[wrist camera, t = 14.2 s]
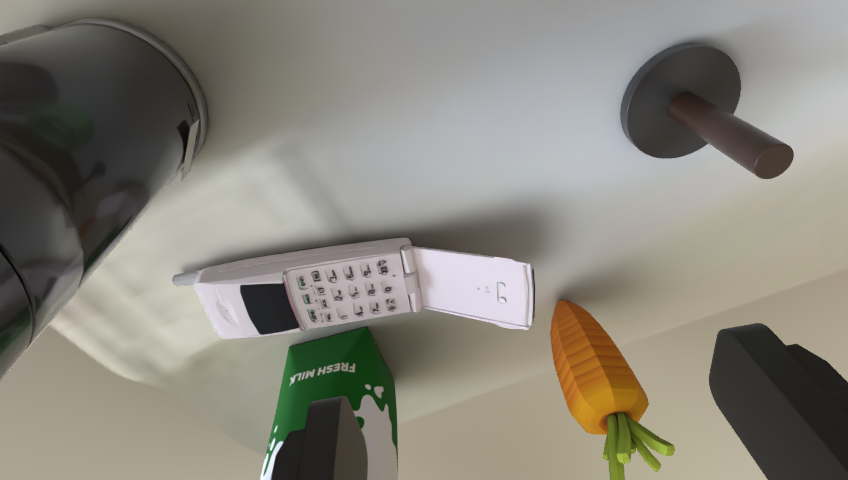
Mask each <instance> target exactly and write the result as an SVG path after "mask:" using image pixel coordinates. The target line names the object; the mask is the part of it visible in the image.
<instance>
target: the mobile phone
mask: <svg viewBox="0 0 848 480" xmlns="http://www.w3.org/2000/svg"><path fill="white" fill-rule="evenodd" d="M172 281H173V283H174V285H175V286H186V285H194V289H195V291H196V293H197V295H198V297H199V299H200V301H201V303H202V305H203V307H204V309H205V311H206V313H207V315H208V317H209V319H210V321H211V323H212V325H213V328H214V330H215V332H216V334H217V335H218V336H219V337H221V338H224V339H234V338H249V337H261V336H272V335H280V334H288V333H296V332H303V331H305V330H307V329H314V328H320V327H326V326H333V325H339V324H344V323H349V322H355V321H361V320H366V319H372V318H378V317H383V316H389V315H395V314H400V313H406V312H411V310H412V311H414V312H419V311H421V310H422V308H427V309H431V310H436V311H440V312H445V313H449V314H454V315H458V316H463V317H467V318H472V319H476V320H481V321H485V322H490V323H493V324H497V325H498V326H500V327H504V328H509V329H517V328H518V329H523V330H529V329H530V328H531V327H532V324H533V321H534V309H535V282H534V269H533V266H532V265H531V264H530V263H527V262H521V261H515V260H513V259H511V258H504V257H492V256H487V255H480V254H472V253H465V252H457V251H449V250H441V249H433V248H426V247H418V246H412V242H411V241H410V239H409V238H406V237H403V238H393V239H385V240H377V241H369V242H361V243H353V244H345V245H337V246H329V247H322V248H316V249H309V250H303V251H296V252H290V253H283V254H276V255H270V256H263V257H257V258H250V259H245V260H240V261H235V262H230V263H226V264H221V265H216V266H211V267H207V268H205V269H203V270H196V271H191V272H187V273H182V274H177V275H174V277H173V278H172Z"/></svg>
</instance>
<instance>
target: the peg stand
mask: <svg viewBox="0 0 848 480" xmlns="http://www.w3.org/2000/svg"><path fill="white" fill-rule="evenodd" d="M740 90H741V81H740V75H739V72H738V69H737V67H736V65H735V63H734V62H733V61H732V59H731V58H730V57H729V56H728V55H726V54H725V53H723V52H722V51H720V50H718V49H715V48H712V47H709V46H706V45H703V44H694V43H689V44H682V45H678V46H674V47H672V48H669V49H667V50H665V51H663V52H661V53H659V54H657V55H656V56H654V57H653V58H651V59H650V60H649V61H648V62H647V63H645V64H644V65H643V66H642V67H641V68H640V70H639V71H638V72H637V73H636V74H635V76H634V77H633V79H632V80H631V82H630V83H629V85H628V87H627V89H626V91H625V94H624V97H623V100H622V104H621V124H622V128H623V131H624V133H625V135H626V137H627V138H628V139H629V140H630V142H631V143H633V144H634V145H635V146H636V147H637V148H638V149H639V150H640V151H642V152H643V153H645V154H647V155H650V156H653V157H656V158H677V157H681V156H685V155H687V154H690V153H693V152H695V151H697V150H699V149H700V148H702V147H704V146H705V145H707V144H708V143H709V144H711V145H712V146H713V147H715V148H716V149H718V150H719V151H721V152H722V153H724V154H725V155H727V156H728V157H730V158H731V159H733V160H734V161H736V162H737V163H738V164H740V165H741V166H743V167H744V168H746V169H747V170H749V171H750V172H752V173H753V174H755V175H756V176H758V177H759V178H762V179H771V178H774V177H777V176H779V175H780V174H782V173H783V172H784V171H786V170H787V168H788V167H789V166H790V164H791V163H792V160H793V157H794V153H793V150H792V148H791V147H790V146H789V145H787V144H785V143H783V142H781V141H780V140H778V139H776V138H774V137H772V136H770V135H769V134H767V133H765V132H763V131H761V130H760V129H758V128H756V127H754V126H752V125H750V124H749V123H747V122H745V121H743V120H741V119H740V118H738V117H736V116H734V115H733V114H734V112H735V110H736V107H737V104H738V101H739V97H740Z"/></svg>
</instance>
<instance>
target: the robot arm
mask: <svg viewBox="0 0 848 480" xmlns="http://www.w3.org/2000/svg"><path fill="white" fill-rule="evenodd" d="M207 124H208V117H207V108H206V104H205V100H204V97H203V94H202V91H201V89H200V87H199V84H198V82H197V81H196V79H195V77H194V75H193V74H192V72H191V71H190V69H189V68H188V67H187V65H186V64H185V63H184V62H183V60H182V59H181V58H180V57H179V56H178V55H177V54H176V53H175V52H174V51H173V50H172V49H171V48H170V47H168V46H167V45H166V44H165V43H163V42H162V41H161V40H159V39H158V38H156V37H155V36H153V35H151V34H150V33H148V32H146V31H144V30H142V29H140V28H138V27H136V26H133V25H130V24H128V23H124V22H121V21H117V20H112V19H104V18H88V19H81V20H77V21H73V22H70V23H66V24H63V25H60V26H58V27H56V28H49V27H46V26H43V25H35V26H31V27H28V28H24V29H20V30H17V31H13V32H10V33H6V34H3V35H0V381H1V380H2V378H4V376H5V375H6V374H7V373H8V372H9V371H10V369H11V368H12V367H13V366H14V365H15V363H16V362H17V361H18V360H19V359H20V357H22V355H23V354H24V353H25V352H26V351H27V350H28V348H29V347H30V346H31V345H32V344H33V343H34V341H35V340H36V339H37V338H38V337H39V336H40V334H41V333H42V332H43V331H44V330H45V329H46V327H47V326H48V325H49V324H50V323H51V322H52V320H53V319H54V318H55V317H56V316H57V315H58V313H59V312H60V311H61V310H62V309H63V308H64V306H65V305H66V304H67V303H68V301H69V300H70V299H71V298H72V297H73V296H74V294H75V293H76V292H77V291H78V290H79V289H80V287H81V286H82V285H83V284H84V283H85V282H86V280H87V279H88V278H89V277H90V276H91V275H92V273H93V272H94V271H95V270H96V269H97V268H98V266H99V265H100V264H101V263H102V262H103V261H104V259H105V258H106V257H107V256H108V255H109V254H110V252H111V251H112V250H113V249H114V248H115V247H116V245H117V244H118V243H119V242H120V241H121V240H122V238H123V237H124V236H125V235H126V234H127V233H128V231H129V230H130V229H131V228H132V227H133V226H134V224H135V223H136V222H137V221H138V220H139V219H140V217H141V216H142V215H143V214H144V213H145V212H146V210H147V209H148V208H149V207H150V206H151V205H152V203H153V202H154V201H155V200H156V199H157V198H158V196H159V195H160V194H161V193H162V192H163V191H164V189H165V188H166V187H167V186H168V185H169V184H170V183H171V181H172V180H173V179H174V178H175V177H176V176H177V174H178V173H179V172H180V171H182V170H183V173H182V179H181V181H182V180H183V179H184V178H185V176H186V175H187V174H188V173H189V172H190V167H191V162H192V160H193V159H194V157H195V156H196V155H197V154H198V152H199V150H200V149H201V147H202V145H203V143H204V140H205V137H206V132H207ZM709 385H710V389H711V393H712V395H713V398H714V400H715V402H716V404H717V406H718V407H719V409H720V410H721V412H722V413H723V415H724V416H725V417H726V419H727V421H728V422H729V423H730V425H731V426H732V428H733V429H734V431H735V432H736V434H737V435H738V437H739V438H740V440H741V441H742V443H743V444H744V445H745V447H746V448H747V450H748V451H749V453H750V454H751V456H752V457H753V459H754V460H755V461H756V463H757V465H758V466H759V467H760V469H761V470H762V472H763V473H764V474H765V476H766V478H767V479H768V480H848V382H847V381H846V380H845V379H844V378H843V377H842V376H841V375H840V374H839V373H838V372H837V371H836V370H835V369H833V367H832V366H831V365H830V364H829V363H828V362H827V361H825V360H823V359H822V358H820V357H818V356H817V355H815V354H813V353H811V352H810V351H808V350H806V349H805V348H803V347H801V346H799V345H798V344H793V345H787V346H786V345H785V344H784V343H783V342H782V341H781V340H780V339H779V338H778V337H777V336H776V335H775V334H774V333H773V332H772V331H771V330H770V329H769V328H768V327H767V326H765V325H764V324H761V323H755V324H750V325H744V326H739V327H733V328H727V329H722V330H720V331H719V332H718V335H717V339H716V344H715V349H714V354H713V359H712V364H711V369H710V374H709ZM367 474H368V455H367V447H366V442H365V438H364V435H363V433H362V430H361V428H360V426H359V423H358V421H357V419H356V416H355V414H354V412H353V409H352V407H351V405H350V402H349V400H348V398H347V397H346V396H340V397H334V398H329V399H323V400H318V401H313V402H311V403H310V405H309V408H308V413H307V419H306V425H305V429H302V430H296V431H290V432H289V434H288V436H287V437H286V439H285V441H284V442H283V444H282V446H281V447H280V449H279V451H278V452H277V454H276V457H275V461H274V466H273V471H272V475H271V480H367Z"/></svg>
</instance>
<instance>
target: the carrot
mask: <svg viewBox="0 0 848 480" xmlns="http://www.w3.org/2000/svg"><path fill="white" fill-rule="evenodd" d="M550 334H551V344H552V352H553V359H554V365H555V368H556V372H557V375H558V378H559V382H560V385H561V388H562V391H563V394H564V397H565V400H566V403H567V406H568V408H569V411H570V413H571V414H572V416H573V417H574V418H575V419H576V420H577V422H578V423H579V424H580V425H581V426H582V427H583V429H584V430H585V431H586V432H588V433H591V434H602V435H607V437H606V442H605V448H604V453H603V458H604V459H605V460H609V472H610V480H625V479H624V466H623V463H624V464H625V463H628V462H630V458H631V453H633V454H634V453H635V451H636V448H637V450H638V451H639V453H640V454H641V456H642V457H643V459H644V460H645V461H646V462H647V463H648V465H649V466H650V467H651V468H652V469H653V470H654V471H656V472H657V471H658V470H659V469H660V467H661V464H660V462H659V461H658V460H657V459H656V458H655V457H654V456H653V455H652V454H651V453H650V451H649V450H648V449H647V448H646V446H645V445H644V443H645V444H646V445H647V446H649V447H650V448H651V449H653V450H655V451H657V452H658V453H660V454H663V455H666V456H671V455H673V454H674V445H673V444H671V443H669V442H667V441H665V440H663V439H661V438H659V437H658V436H656V435H655V434H653V433H652V432H651V431H649V430H648V429H646V428H645V427H643V426H642V425H640V424H639V423H638V422H639V420H640V418H641V417H642V415H643V414H644V412H645V411H646V409H647V407H648V399H647V396H646V394H645V392H644V390H643V389H642V387H641V385H640V384H639V382H638V380H637V378H636V377H635V375H634V373H633V371H632V370H631V368H630V367H629V365H628V364H627V362H626V360H625V359H624V357H623V356H622V354H621V352H620V351H619V349H618V348H617V347H616V345H615V344H614V342H613V341H612V339H611V338H610V336H609V335H608V334H607V333H606V332H605V330H604V329H603V328H602V327H601V325H600V324H599V323H598V322H597V321H596V320H595V319H594V318H593V317H592V316H591V314H590V313H588V312H587V311H586V310H584V309H583V308H581V307H580V306H578V305H576V304H574V303H572V302H570V301H568V300H561V301H559V302H557V304H556V307H555V310H554V314H553V318H552V323H551V333H550ZM640 439H641V440H642V441H643V442H644V443H643V442H642V441H641V440H640Z"/></svg>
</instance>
